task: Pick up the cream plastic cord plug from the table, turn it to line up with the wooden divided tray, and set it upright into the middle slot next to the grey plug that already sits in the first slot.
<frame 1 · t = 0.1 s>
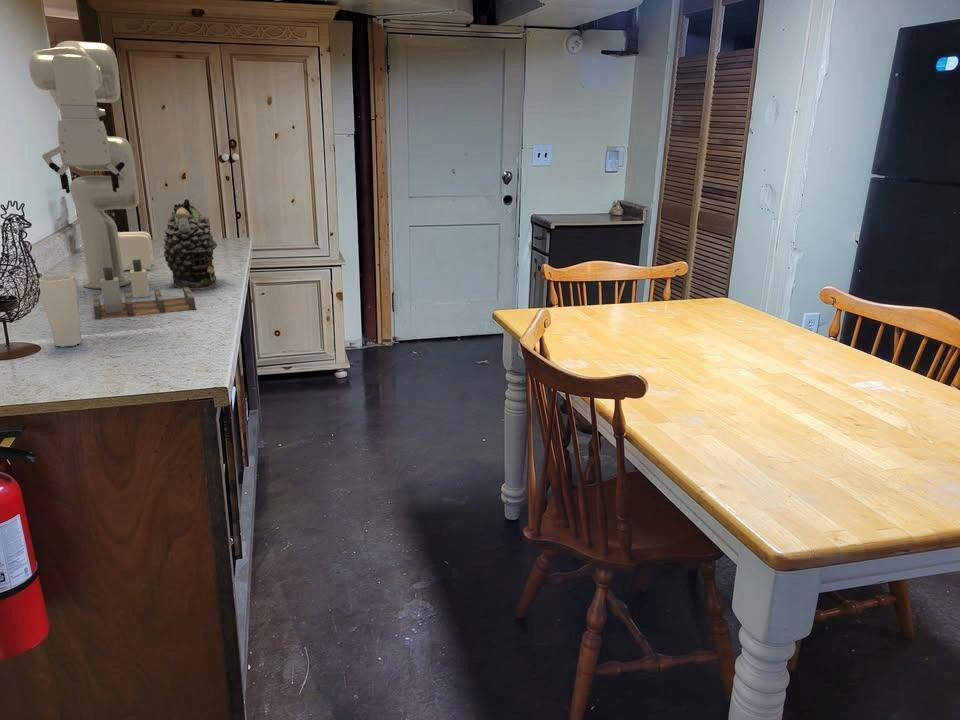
hand: (91, 192, 163), 31 cm above the kitchen counter, fingers open, 9 cm apart
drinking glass: (68, 345, 154), on the kitchen counter
cream plug: (142, 299, 194), on the kitchen counter
decorative house: (194, 285, 212), on the kitchen counter
wooden divided tray: (145, 312, 181), on the kitchen counter
cable organizer: (129, 269, 233), on the kitchen counter
grey plug: (114, 310, 177), point 1 cm above the kitchen counter, touching wooden divided tray
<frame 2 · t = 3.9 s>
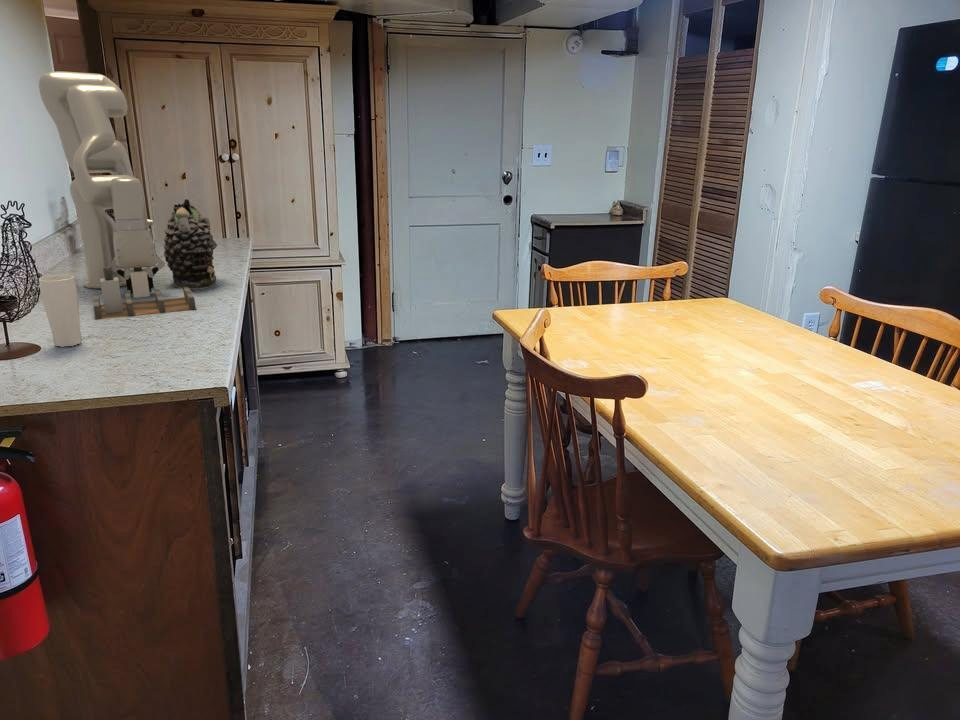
hand: (140, 291, 193), 2 cm above the kitchen counter, fingers closed on cream plug, 4 cm apart
cream plug: (142, 299, 194), on the kitchen counter, touching gripper
everything else where it was.
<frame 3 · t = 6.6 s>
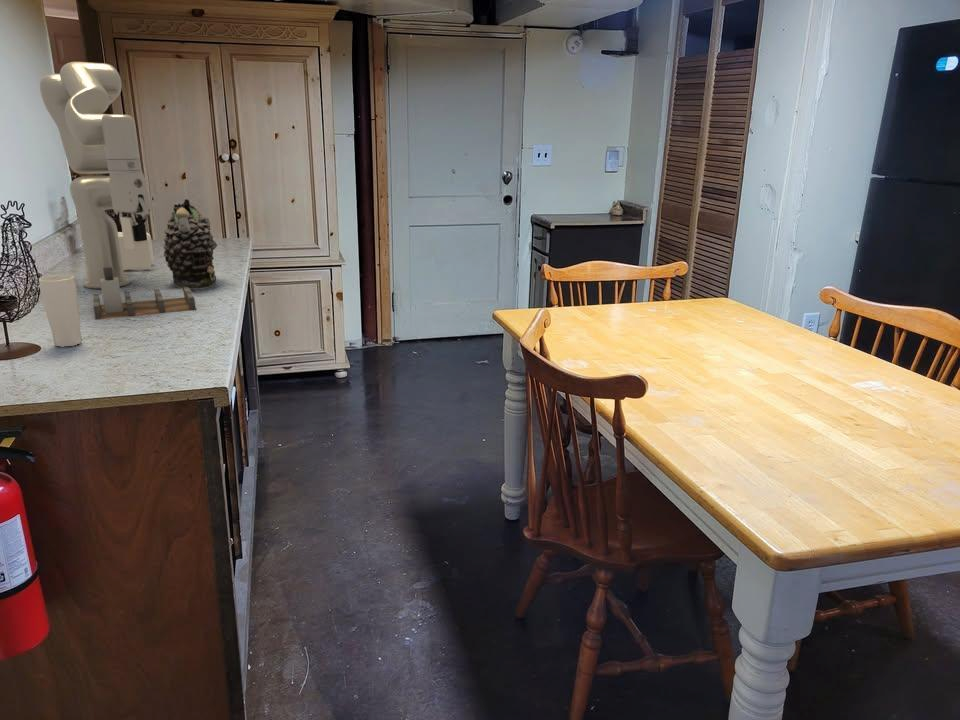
hand: (135, 239, 180), 18 cm above the kitchen counter, fingers closed on cream plug, 4 cm apart
cream plug: (136, 248, 181), point 16 cm above the kitchen counter, touching gripper
everything else where it was.
when the fingers open (5 cm above the kitchen counter, at t = 9.9 s): cream plug drops 2 cm, resting on wooden divided tray.
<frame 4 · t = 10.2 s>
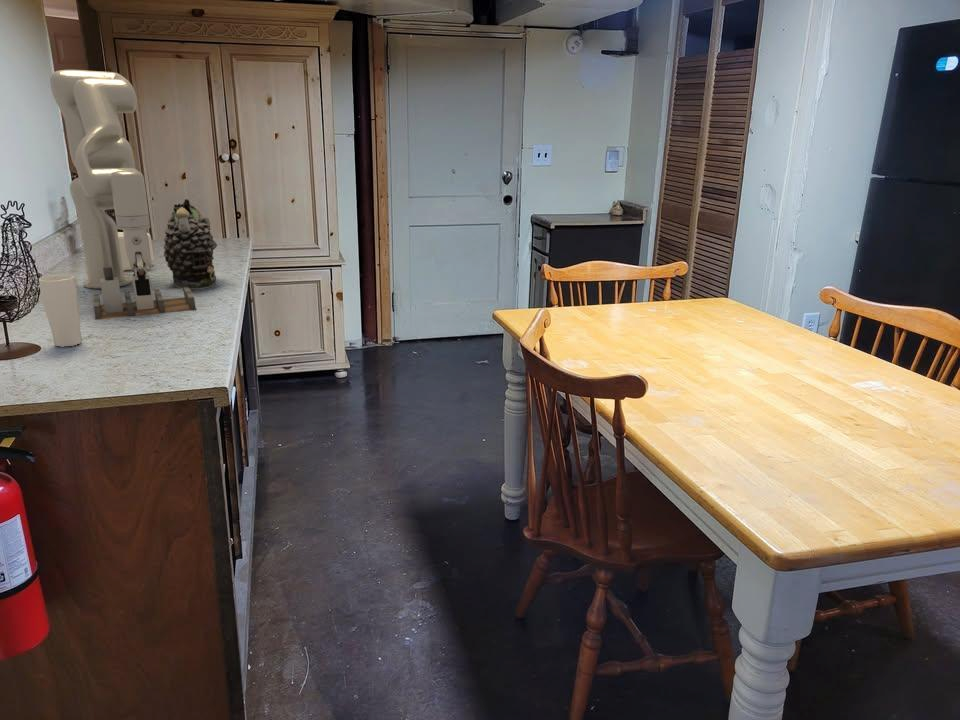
hand: (142, 291, 179), 5 cm above the kitchen counter, fingers open, 7 cm apart
cream plug: (145, 307, 181), point 1 cm above the kitchen counter, touching wooden divided tray
everything else where it was.
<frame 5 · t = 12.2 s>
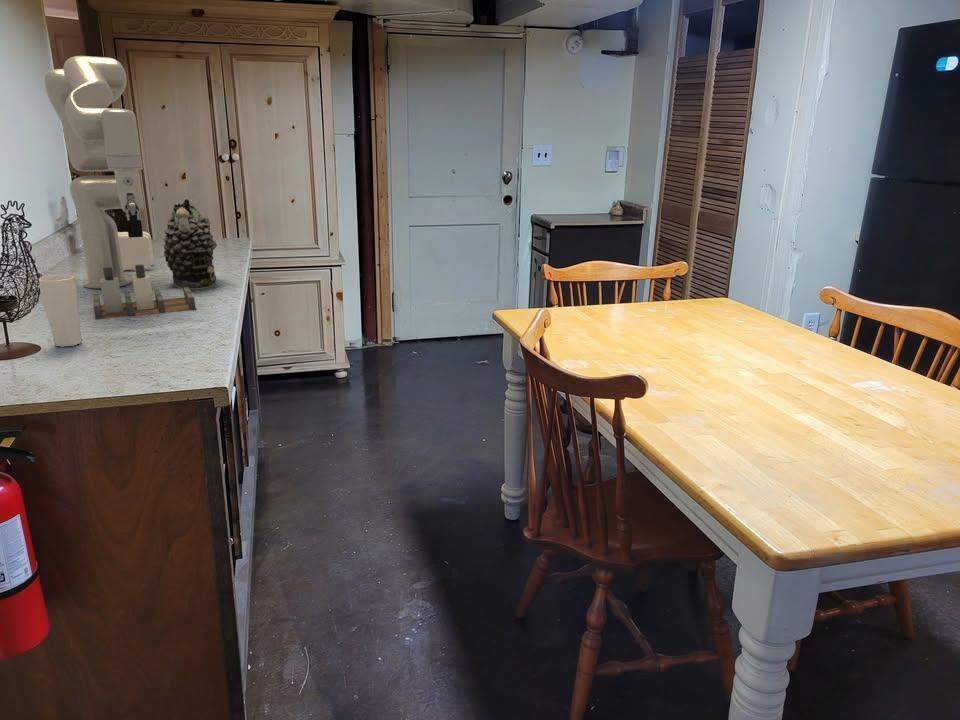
hand: (134, 234, 175), 20 cm above the kitchen counter, fingers open, 9 cm apart
nothing on the kitchen counter moved.
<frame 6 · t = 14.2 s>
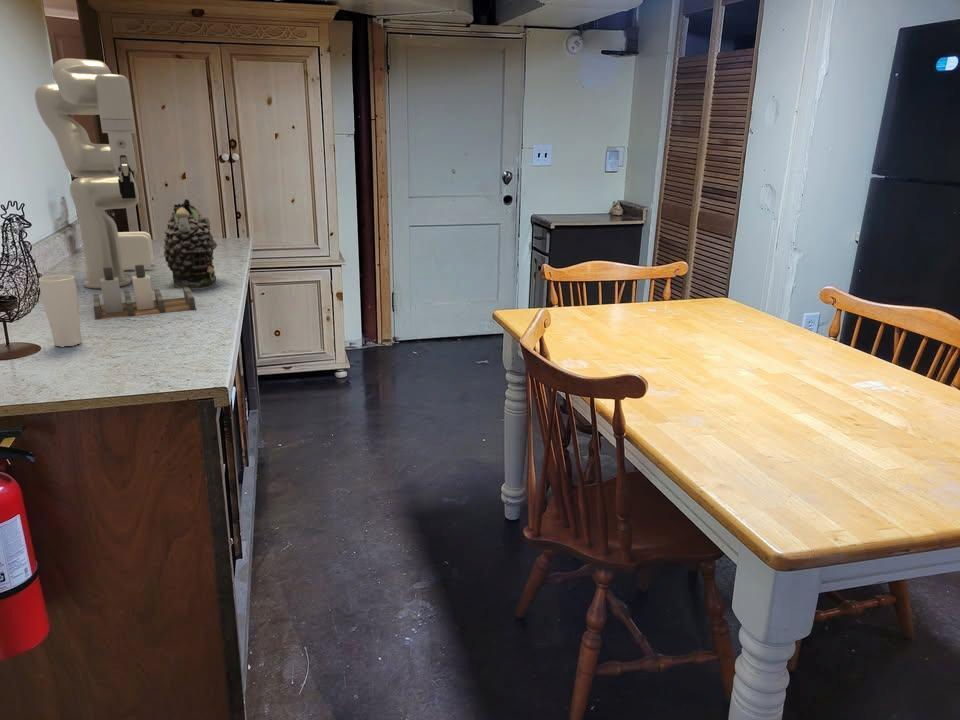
hand: (128, 196, 181), 28 cm above the kitchen counter, fingers open, 9 cm apart
nothing on the kitchen counter moved.
at the end: cream plug 0.1 cm off-centre on the wooden divided tray, point 1.2 cm above the wooden divided tray's base; cream plug tilted 0°; grey plug moved 0.0 cm from its start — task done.
